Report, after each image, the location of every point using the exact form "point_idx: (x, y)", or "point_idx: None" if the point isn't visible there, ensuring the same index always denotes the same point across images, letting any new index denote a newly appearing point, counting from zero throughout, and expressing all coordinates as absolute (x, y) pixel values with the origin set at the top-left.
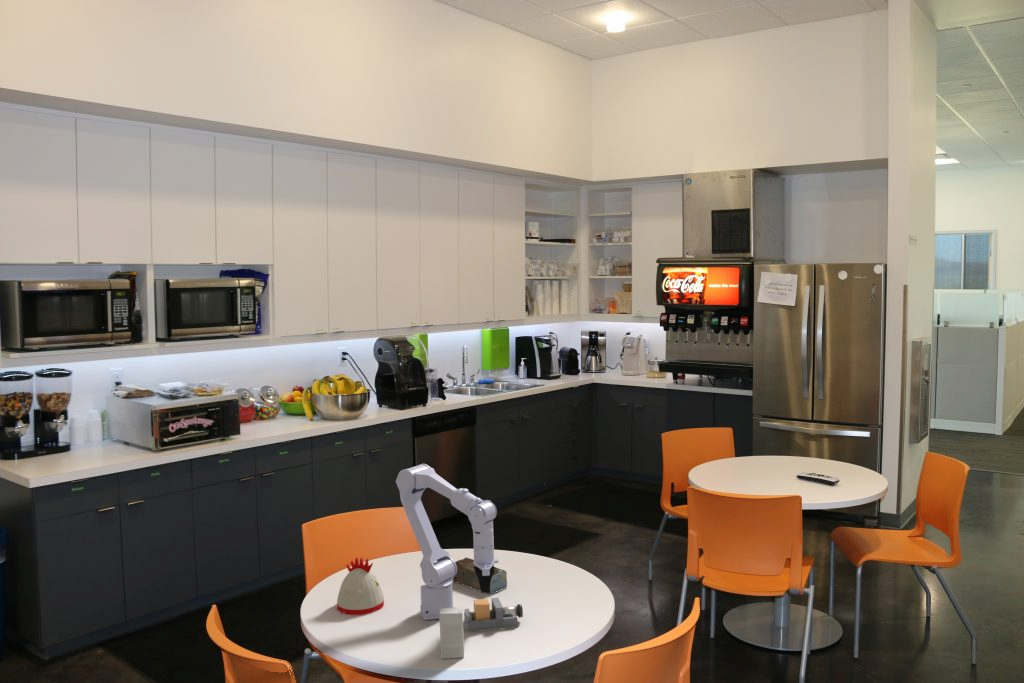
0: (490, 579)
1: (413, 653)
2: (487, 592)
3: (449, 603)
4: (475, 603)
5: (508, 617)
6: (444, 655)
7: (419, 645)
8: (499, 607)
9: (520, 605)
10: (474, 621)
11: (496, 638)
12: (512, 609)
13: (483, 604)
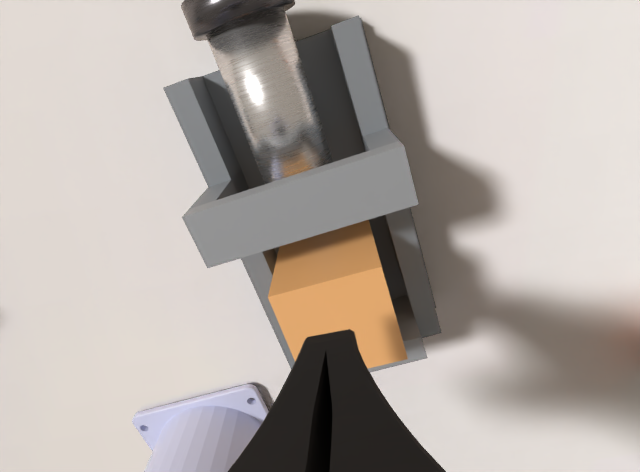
0: (409, 438)
1: (631, 461)
2: (356, 340)
3: (232, 462)
4: (368, 364)
5: (355, 91)
6: None
7: (557, 456)
8: (407, 176)
9: None
10: (423, 302)
11: (527, 141)
12: (288, 67)
13: (388, 310)
